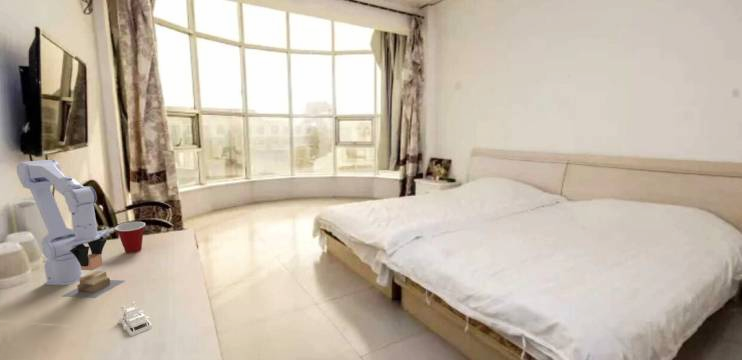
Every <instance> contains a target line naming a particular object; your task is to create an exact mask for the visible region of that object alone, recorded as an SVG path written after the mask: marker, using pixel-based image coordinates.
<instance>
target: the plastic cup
mask: <svg viewBox="0 0 742 360" xmlns="http://www.w3.org/2000/svg"><path fill="white" fill-rule="evenodd" d="M145 226H146V222H143V221H131V222H129V221H128V222H124V223H121V224H118V225H116V226H115V228H114V230H116V231H117V234H118V236H119V239H120V241H121V245H122V246H123V250H124V252H125V253H126V254H136V253H138V252H140V250H141V251H142V247H143V238H144V230H145Z"/></svg>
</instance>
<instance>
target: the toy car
mask: <svg viewBox="0 0 742 360" xmlns="http://www.w3.org/2000/svg"><path fill="white" fill-rule="evenodd" d="M136 304H137V303H136V301H132V303H131V306H130V307H129V308H126V306H125V305H121V306H120V310H121V311H122V317H119V318H118V319H117V320H118V324H119V325H122V326H123V330H124V331H125V332H127V334H128V335H129V336H130V337H131V336H135V335H138V334H140V333H143V332H145V331H148V330H150V329H152V328H153V324H152V323H151V322H150V317H149V316H146V314H145V312H144V310H143V309H141V310H139V308H138V307H137V305H136ZM144 324H146V325H145V326H144V327H141V328H138V329H135V328H136V327H139V326H141V325H144ZM131 329H132V330H133V331H132V330H131Z"/></svg>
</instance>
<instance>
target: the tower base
mask: <svg viewBox="0 0 742 360" xmlns="http://www.w3.org/2000/svg"><path fill="white" fill-rule="evenodd" d="M110 280H111V279H110V277H107V278H106V279H104V280H102V281H100V282H99V283H97V284H95V285H84V284H80V283H78V284H77V286H76V288H78V292H89V293H95V292H97V291H99V290H101V289H103V288H105V287H106V286H108V285H110Z"/></svg>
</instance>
